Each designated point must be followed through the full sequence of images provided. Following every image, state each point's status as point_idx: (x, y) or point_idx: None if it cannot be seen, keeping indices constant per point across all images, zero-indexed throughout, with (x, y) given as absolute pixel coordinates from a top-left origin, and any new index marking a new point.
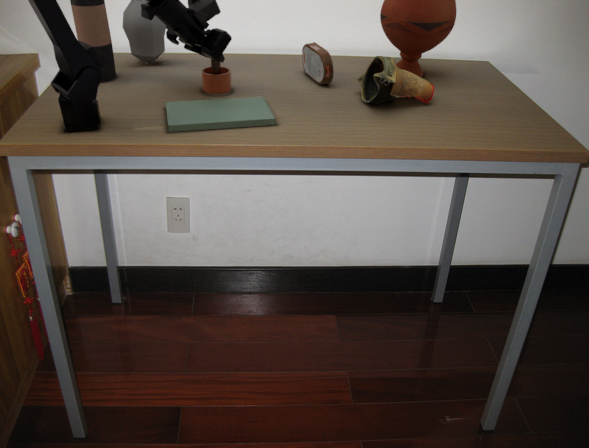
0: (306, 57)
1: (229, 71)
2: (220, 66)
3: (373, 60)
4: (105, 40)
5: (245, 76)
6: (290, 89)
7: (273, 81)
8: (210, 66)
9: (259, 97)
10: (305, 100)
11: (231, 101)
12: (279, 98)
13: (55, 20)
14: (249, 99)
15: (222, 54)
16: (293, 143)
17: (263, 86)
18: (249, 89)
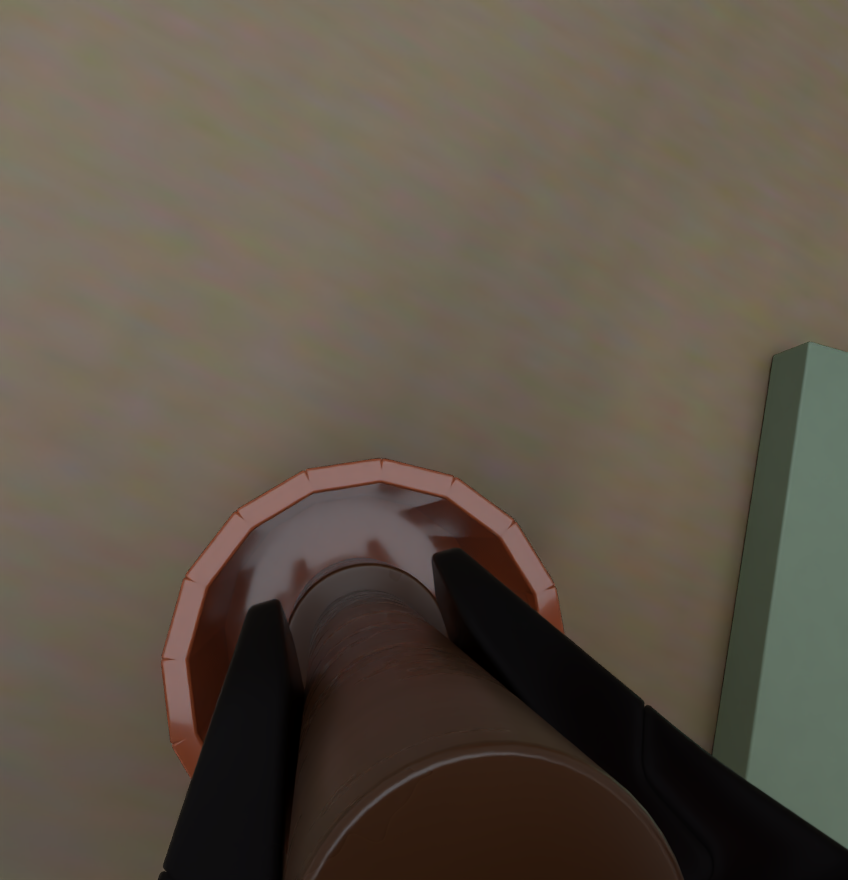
0: None
1: (478, 506)
2: (413, 611)
3: None
4: None
5: (49, 185)
6: (560, 3)
7: (312, 20)
8: (169, 681)
9: (819, 379)
10: (818, 36)
11: (839, 656)
12: (720, 189)
13: None
14: (839, 482)
15: (543, 619)
16: None
17: (404, 166)
18: (431, 317)
